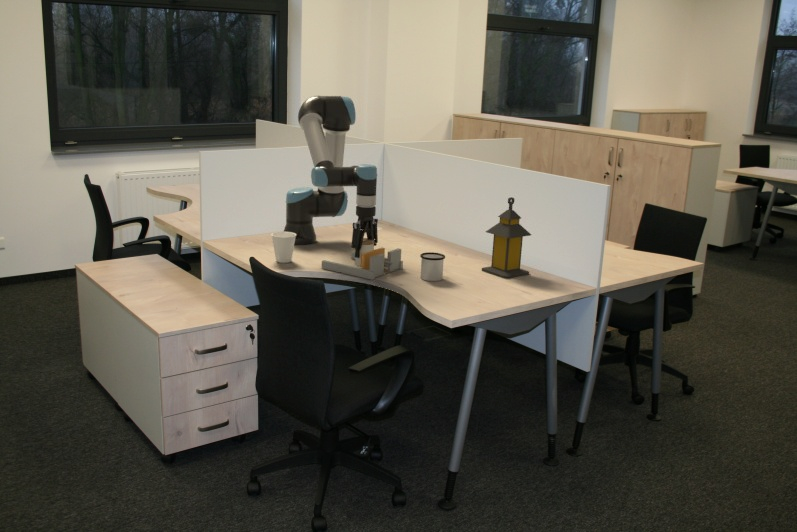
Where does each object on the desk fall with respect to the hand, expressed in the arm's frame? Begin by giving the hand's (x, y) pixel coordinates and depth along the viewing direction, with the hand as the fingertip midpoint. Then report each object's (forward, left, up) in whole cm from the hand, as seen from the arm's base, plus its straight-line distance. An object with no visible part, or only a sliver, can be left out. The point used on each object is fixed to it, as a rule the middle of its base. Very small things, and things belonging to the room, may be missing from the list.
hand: (364, 263), depth 291 cm
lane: (0, -1, -2) cm, 2 cm away
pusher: (0, +8, -1) cm, 8 cm away
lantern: (-33, +45, -2) cm, 56 cm away
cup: (+12, -31, -2) cm, 33 cm away
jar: (0, 0, -1) cm, 1 cm away
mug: (-7, +27, -2) cm, 28 cm away
